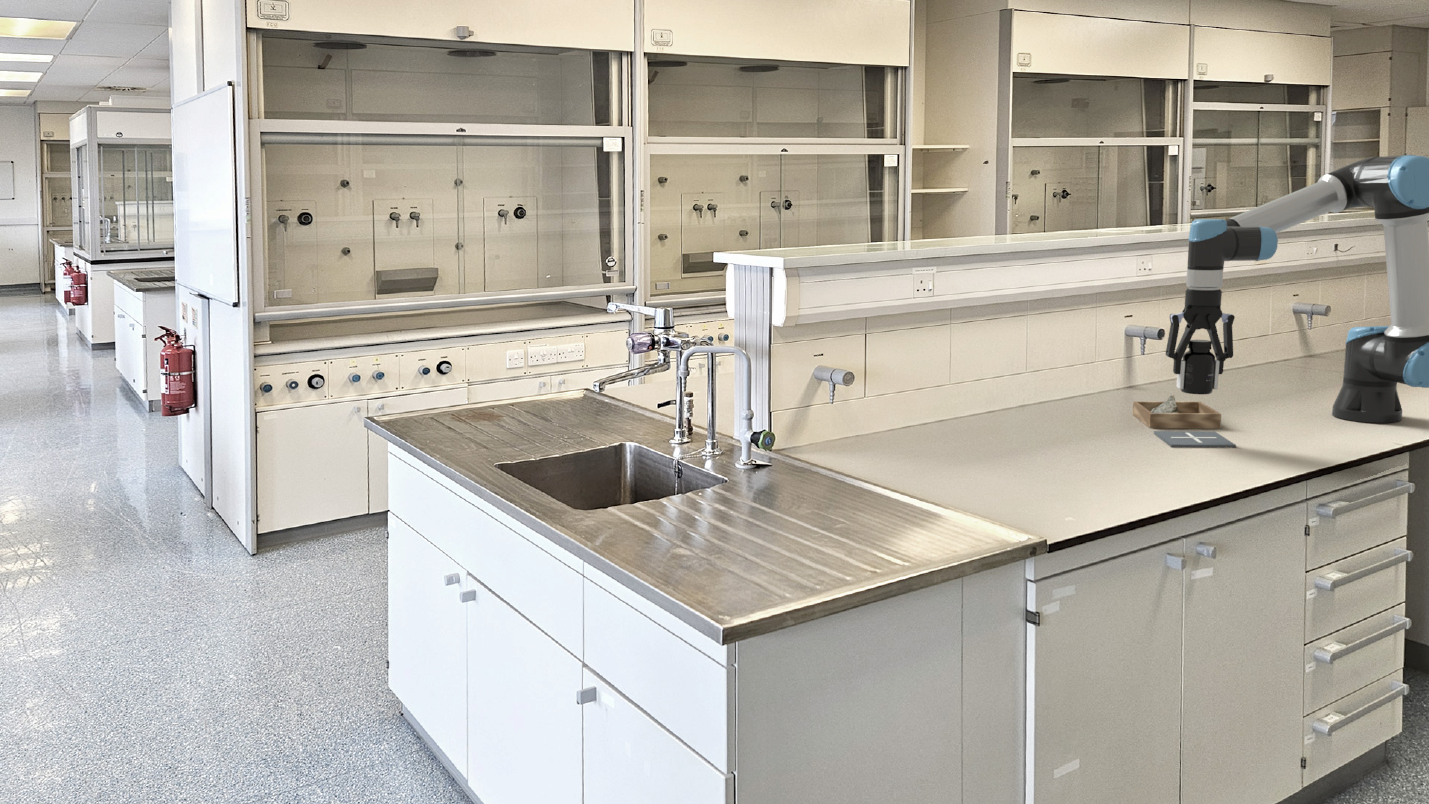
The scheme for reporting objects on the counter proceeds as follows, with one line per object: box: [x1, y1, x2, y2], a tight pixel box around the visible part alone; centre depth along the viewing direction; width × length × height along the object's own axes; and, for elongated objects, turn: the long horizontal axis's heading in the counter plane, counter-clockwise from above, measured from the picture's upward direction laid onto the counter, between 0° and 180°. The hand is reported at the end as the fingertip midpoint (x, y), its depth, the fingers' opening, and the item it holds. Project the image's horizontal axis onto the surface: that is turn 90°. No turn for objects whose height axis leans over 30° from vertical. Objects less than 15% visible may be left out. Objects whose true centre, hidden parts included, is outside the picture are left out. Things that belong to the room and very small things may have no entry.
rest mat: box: [1153, 430, 1237, 449], centre depth 255 cm, size 14×14×1 cm
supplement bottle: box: [1180, 339, 1216, 395], centre depth 252 cm, size 7×7×12 cm
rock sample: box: [1150, 394, 1179, 413], centre depth 277 cm, size 10×8×9 cm
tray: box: [1132, 401, 1222, 429], centre depth 275 cm, size 17×16×4 cm
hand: (1196, 388), depth 253 cm, fingers closed on supplement bottle, 7 cm apart
